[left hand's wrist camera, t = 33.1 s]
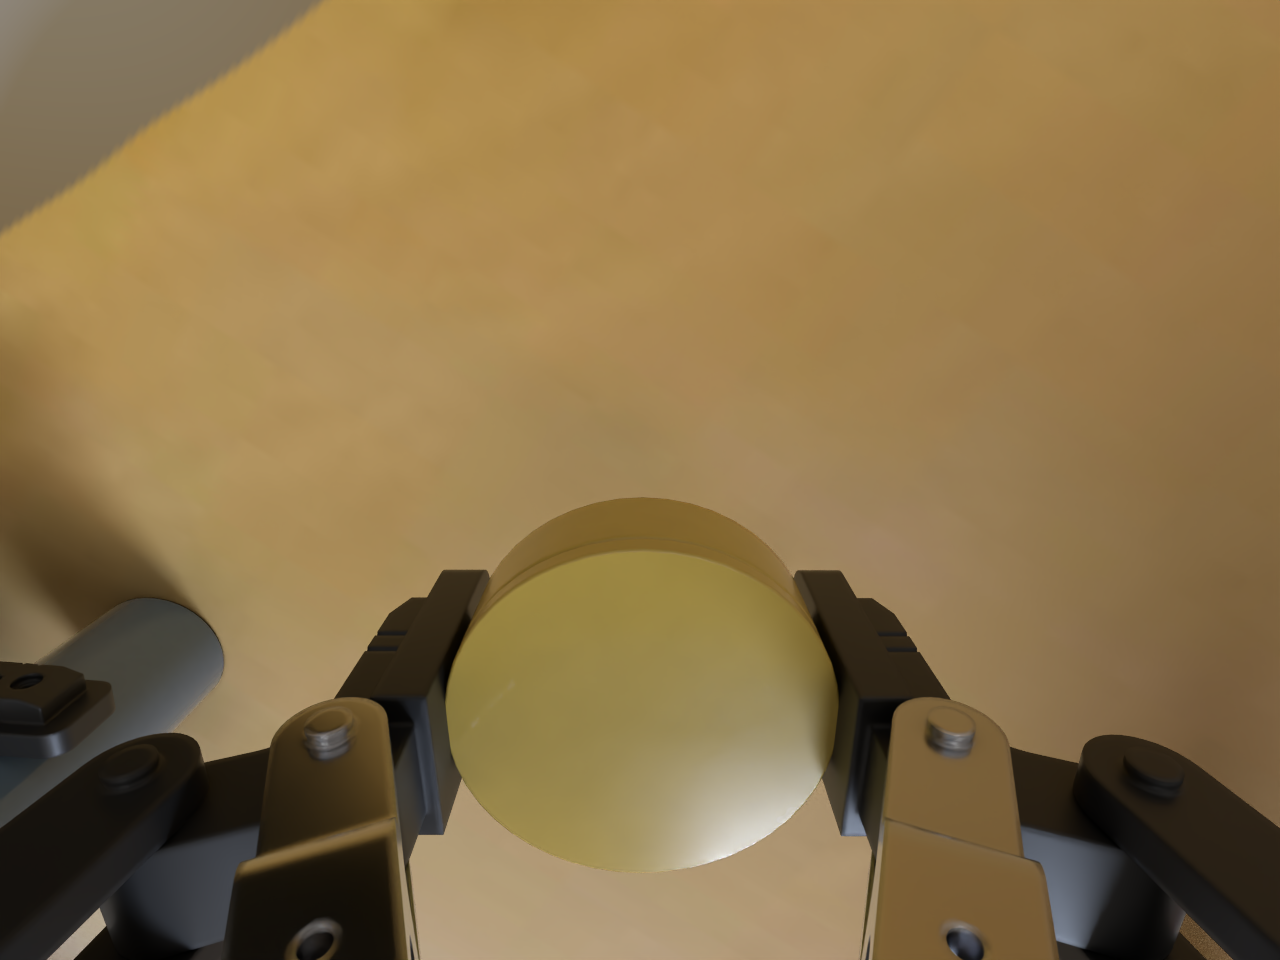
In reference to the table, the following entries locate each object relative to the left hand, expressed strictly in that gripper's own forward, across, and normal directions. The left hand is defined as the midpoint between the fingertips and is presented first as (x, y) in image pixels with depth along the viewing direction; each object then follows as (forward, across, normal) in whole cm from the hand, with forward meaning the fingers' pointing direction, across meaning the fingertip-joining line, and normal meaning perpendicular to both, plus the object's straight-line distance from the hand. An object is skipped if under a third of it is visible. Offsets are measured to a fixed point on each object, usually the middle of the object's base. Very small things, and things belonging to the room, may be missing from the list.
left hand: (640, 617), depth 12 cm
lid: (-3, 0, 0) cm, 3 cm away
